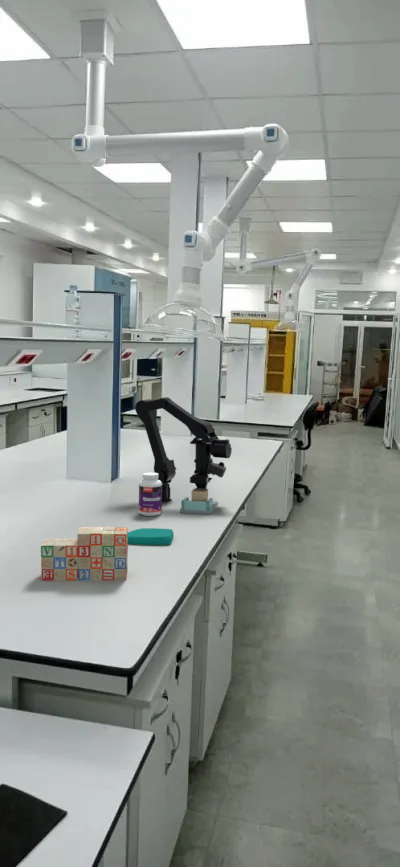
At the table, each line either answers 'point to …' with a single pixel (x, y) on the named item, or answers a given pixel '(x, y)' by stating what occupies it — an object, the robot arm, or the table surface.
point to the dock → (198, 506)
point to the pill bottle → (150, 495)
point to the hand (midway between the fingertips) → (202, 497)
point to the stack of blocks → (86, 555)
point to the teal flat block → (150, 536)
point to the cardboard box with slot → (200, 494)
